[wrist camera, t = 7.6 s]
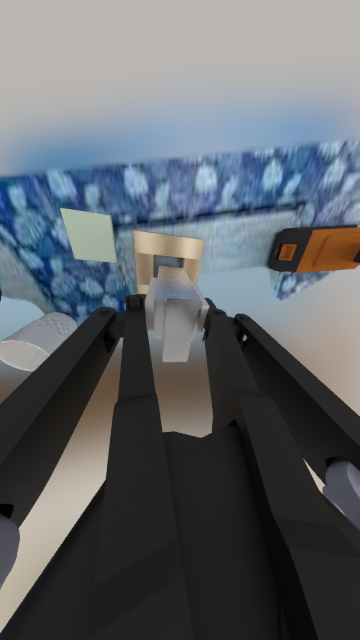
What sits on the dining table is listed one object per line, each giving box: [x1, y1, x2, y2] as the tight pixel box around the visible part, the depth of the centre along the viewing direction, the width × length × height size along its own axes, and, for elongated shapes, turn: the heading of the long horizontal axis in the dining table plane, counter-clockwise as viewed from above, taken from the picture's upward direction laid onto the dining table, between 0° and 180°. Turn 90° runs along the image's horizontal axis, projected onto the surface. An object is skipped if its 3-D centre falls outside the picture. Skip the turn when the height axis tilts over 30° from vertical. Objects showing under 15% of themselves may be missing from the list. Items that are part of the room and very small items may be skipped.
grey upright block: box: [154, 265, 203, 362], centre depth 15 cm, size 4×6×14 cm, turn 173°
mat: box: [60, 208, 118, 263], centre depth 22 cm, size 7×7×1 cm
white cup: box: [0, 312, 78, 371], centre depth 27 cm, size 8×8×10 cm
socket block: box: [133, 230, 205, 294], centre depth 25 cm, size 11×11×4 cm
